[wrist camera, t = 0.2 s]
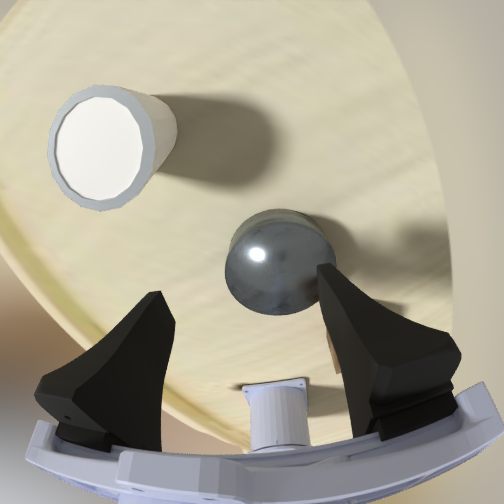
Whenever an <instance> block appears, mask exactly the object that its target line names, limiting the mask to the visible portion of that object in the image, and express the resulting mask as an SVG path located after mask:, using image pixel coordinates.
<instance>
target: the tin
mask: <svg viewBox="0 0 504 504" xmlns="http://www.w3.org/2000/svg"><path fill="white" fill-rule="evenodd" d="M325 263H331V264H332V265H333V266H334V267H336V258H335V254H334V251H333V249H332V247H331V245H330V243H329V242H328V240H327V239H326V238H325V237H324V235H323V233H322V231H321V230H320V228H319V227H318V225H317V224H316V223H315V222H314V221H313V220H311V219H310V218H309V217H307V216H306V215H304V214H302V213H300V212H297V211H293V210H289V209H271V210H267V211H263V212H260V213H257V214H255V215H254V216H252V217H250V218H249V219H247V220H246V221H245V222H244V223H243V224H241V225H240V227H239V228H238V229H237V230H236V232H235V234H234V235H233V238H232V240H231V243H230V248H229V253H228V256H227V259H226V264H225V279H226V283H227V286H228V288H229V290H230V292H231V294H232V295H233V296H234V298H235V299H236V300H237V301H238V302H239V303H241V304H242V305H243V306H245V307H246V308H248V309H250V310H252V311H255V312H258V313H261V314H266V315H275V316H276V315H289V314H293V313H297V312H300V311H302V310H305V309H307V308H309V307H310V306H312V305H314V304H315V303H316V302H318V301H319V293H318V279H317V267H316V265H319V264H325Z"/></svg>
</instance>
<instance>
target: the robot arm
mask: <svg viewBox="0 0 504 504" xmlns="http://www.w3.org/2000/svg"><path fill="white" fill-rule="evenodd" d="M316 267H317V279H318V293H319V303H320V307H321V311H322V315H323V319H324V322H325V325H326V328H327V330H328V333H329V336H330V339H331V341H332V344H333V347H334V350H335V352H336V355H337V358H338V361H339V365H340V369H341V373H342V378H343V382H344V387H345V392H346V397H347V402H348V408H349V414H350V420H351V426H352V434H353V439H349V440H344V441H340V442H335V443H330V444H325V445H320V446H314V447H313V446H311V443H310V435H309V428H308V421H307V414H306V411H308V403H307V391H306V381H305V379H304V378H299V379H293V380H286V381H279V382H272V383H264V384H255V385H245V386H243V387H242V390H243V393H244V395H245V397H246V399H247V401H248V404H249V406H250V434H251V452H248V454H234V455H199V454H179V453H166V452H162V447H161V404H162V393H163V384H164V379H165V374H166V370H167V366H168V362H169V358H170V354H171V350H172V345H173V341H174V334H175V323H176V322H175V320H174V318H173V316H172V314H171V311H170V309H169V307H168V305H167V303H166V301H165V299H164V297H163V295H162V293H161V291H154V292H149V293H148V294H147V295H146V296H145V297H144V298H142V299H141V301H140V302H139V303H138V304H137V305H136V306H135V307H134V308H133V309H132V310H131V311H130V312H129V313H128V314H127V315H126V316H125V317H124V318H123V319H122V320H121V321H120V322H119V323H118V324H117V325H116V326H115V327H114V328H113V329H112V330H111V331H110V332H109V333H108V334H107V335H106V336H105V337H104V338H103V339H101V340H100V341H99V342H98V343H97V344H95V345H94V346H93V347H92V348H90V349H89V350H87V351H86V352H85V353H83V354H82V355H81V356H79V357H78V358H76V359H74V360H73V361H71V362H70V363H68V364H66V365H64V366H63V367H61V368H59V369H57V370H55V371H52V372H51V373H48V374H46V375H44V376H43V377H42V379H41V381H40V383H39V385H38V387H37V389H36V391H35V393H34V396H35V399H36V401H37V402H38V403H39V405H40V406H41V407H42V408H44V409H45V410H46V411H47V412H48V413H49V414H51V415H52V416H53V417H54V418H55V419H56V420H57V421H59V425H58V427H57V426H55V425H54V424H51V423H48V422H45V421H42V420H38V422H37V424H36V427H35V430H34V432H33V435H32V438H31V441H30V444H29V446H28V449H27V452H26V455H25V459H26V460H27V461H29V462H31V463H32V464H34V465H35V466H37V467H38V468H40V469H42V470H44V471H45V472H47V473H49V474H51V475H52V476H54V477H56V478H58V479H60V480H62V481H64V482H67V483H69V484H72V485H74V486H76V487H79V488H81V489H84V490H86V491H89V492H92V493H94V494H97V495H100V496H103V497H106V498H109V499H112V500H115V501H118V504H366V503H369V502H373V501H376V500H379V499H382V498H385V497H388V496H391V495H393V494H396V493H399V492H402V491H404V490H407V489H409V488H412V487H414V486H417V485H419V484H421V483H424V482H426V481H428V480H430V479H432V478H435V477H436V476H439V475H441V474H443V473H445V472H447V471H449V470H451V469H453V468H455V467H457V466H458V465H460V464H462V463H464V462H466V461H467V460H469V459H471V458H473V457H474V456H476V455H477V454H479V453H480V452H482V451H483V450H484V449H485V448H487V447H488V446H489V445H490V444H492V443H493V442H494V441H495V440H497V439H498V438H499V437H500V436H501V435H503V434H504V424H503V421H502V419H501V417H500V415H499V412H498V410H497V408H496V406H495V404H494V402H493V400H492V398H491V396H490V393H489V392H488V390H487V388H486V386H485V384H484V382H480V383H478V384H476V385H474V386H472V387H470V388H468V389H466V390H464V391H462V392H460V393H459V394H458V395H457V396H455V397H454V396H453V394H452V390H453V389H454V387H453V384H452V382H451V378H452V376H453V375H454V373H455V371H456V369H457V367H458V366H459V363H460V361H461V352H460V351H459V349H458V347H457V345H456V343H455V342H454V340H453V339H452V337H451V336H450V335H449V333H447V332H444V331H440V330H437V329H433V328H430V327H427V326H424V325H421V324H419V323H416V322H414V321H411V320H409V319H407V318H405V317H403V316H401V315H399V314H397V313H394V312H393V311H391V310H389V309H387V308H386V307H384V306H382V305H381V304H379V303H378V302H376V301H374V300H373V299H372V298H370V297H369V296H368V295H366V294H365V293H364V292H362V291H361V290H360V289H359V288H358V287H356V286H355V285H354V284H353V283H352V282H350V281H349V280H348V279H347V278H346V277H345V276H344V275H343V274H342V273H341V272H340V271H339V270H338V269H337V268H336V267H334V266H333V265H332V264H331V263H325V264H319V265H316Z"/></svg>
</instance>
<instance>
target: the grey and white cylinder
mask: <svg viewBox="0 0 504 504" xmlns="http://www.w3.org/2000/svg"><path fill="white" fill-rule="evenodd" d="M177 133H178V129H177V123H176V117H175V115H174V114H173V112H172V111H171V109H170V108H169V106H168V105H167V104H166V103H164V102H163V101H161V100H160V99H158V98H156V97H154V96H150V95H147V94H144V93H140V92H137V91H133V90H129V89H126V88H122V87H118V86H107V85H93V86H91V87H88V88H86V89H83V90H81V91H79V92H77V93H74V94H73V95H72V96H71V97H70V98H69V99H68V100H67V101H66V102H65V104H64V105H63V106H62V107H61V108H60V109H59V110H58V112H57V114H56V116H55V119H54V121H53V123H52V126H51V128H50V131H49V138H48V151H47V156H48V160H49V164H50V168H51V172H52V176H53V178H54V179H55V181H56V183H57V184H58V186H59V187H60V189H61V190H62V192H63V193H64V195H66V196H67V197H68V198H70V199H71V200H72V201H74V202H75V203H76V204H78V205H79V206H80V207H84V208H88V209H92V210H96V211H100V212H101V211H106V210H111V209H116V208H121V207H122V206H123V205H125V204H126V203H128V202H129V201H130V200H132V199H133V198H135V197H136V196H137V195H139V193H140V192H141V191H142V189H143V188H144V187H145V185H146V184H147V183H148V181H149V180H150V179H151V177H152V176H153V175H154V173H155V172H156V171H157V169H158V168H159V167H160V166H161V164H162V163H163V162H164V161H165V159H166V158H167V157H168V155H169V154H170V152H171V151H172V149H173V148H174V146H175V142H176V138H177Z"/></svg>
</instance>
